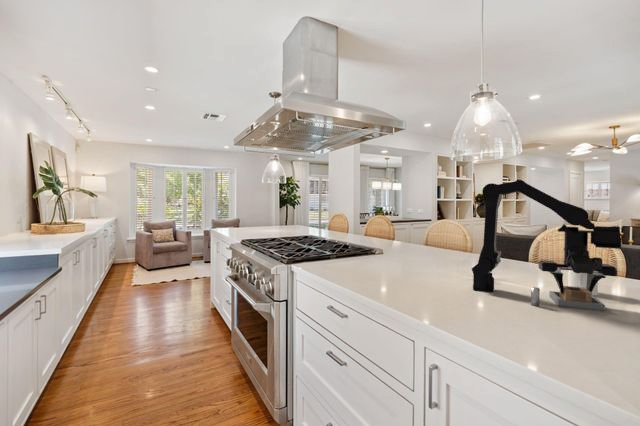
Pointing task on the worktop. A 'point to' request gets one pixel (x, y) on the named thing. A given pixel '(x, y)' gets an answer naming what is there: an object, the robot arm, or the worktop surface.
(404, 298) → the worktop surface
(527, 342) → the worktop surface
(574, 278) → the mug
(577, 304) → the tray
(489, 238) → the robot arm
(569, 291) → the brown square socket block
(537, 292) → the post
